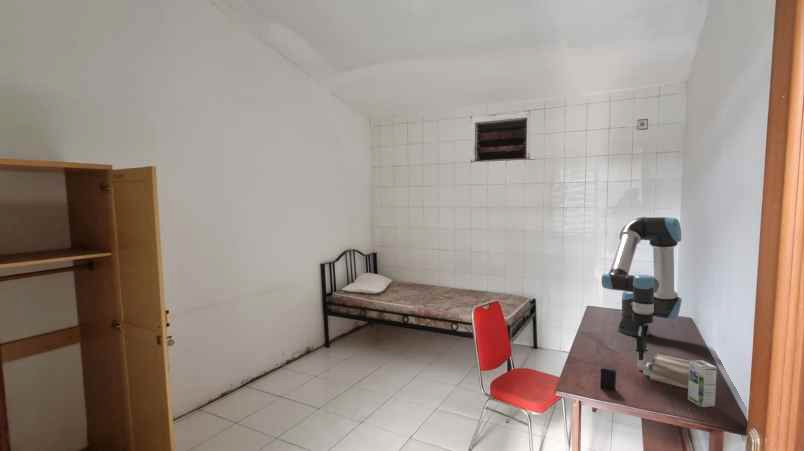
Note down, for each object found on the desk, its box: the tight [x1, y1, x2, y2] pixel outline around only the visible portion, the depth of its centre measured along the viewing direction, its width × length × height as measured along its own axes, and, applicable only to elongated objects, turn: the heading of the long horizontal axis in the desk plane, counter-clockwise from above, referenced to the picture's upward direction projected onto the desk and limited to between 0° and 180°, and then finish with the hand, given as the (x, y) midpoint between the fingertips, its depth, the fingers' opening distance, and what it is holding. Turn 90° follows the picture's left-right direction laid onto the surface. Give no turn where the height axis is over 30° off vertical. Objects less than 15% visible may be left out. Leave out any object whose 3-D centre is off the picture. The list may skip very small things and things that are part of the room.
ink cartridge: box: [599, 366, 617, 392], centre depth 149 cm, size 5×2×8 cm, turn 52°
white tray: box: [642, 362, 652, 377], centre depth 160 cm, size 10×14×2 cm
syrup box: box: [687, 359, 717, 408], centre depth 137 cm, size 6×6×14 cm
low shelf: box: [649, 353, 690, 389], centre depth 158 cm, size 16×14×6 cm
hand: (641, 366), depth 165 cm, fingers closed
